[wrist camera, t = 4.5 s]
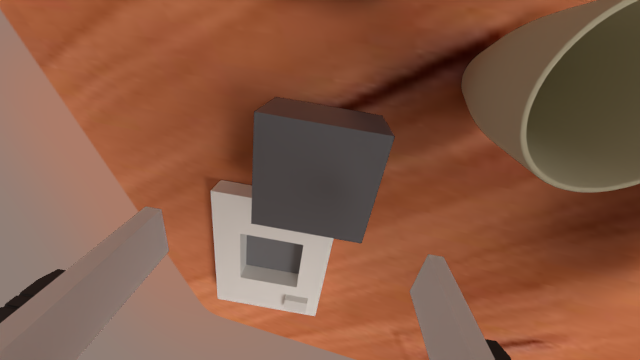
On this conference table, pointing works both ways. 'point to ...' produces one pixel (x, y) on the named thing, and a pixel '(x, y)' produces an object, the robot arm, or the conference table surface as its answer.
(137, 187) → the conference table surface
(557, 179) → the mug
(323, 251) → the socket
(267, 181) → the plug
